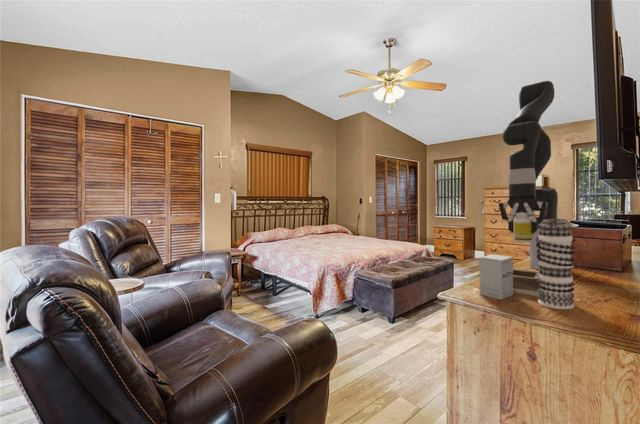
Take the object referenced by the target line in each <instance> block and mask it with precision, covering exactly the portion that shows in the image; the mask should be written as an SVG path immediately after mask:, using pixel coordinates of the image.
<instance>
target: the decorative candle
mask: <svg viewBox="0 0 640 424" xmlns="http://www.w3.org/2000/svg"><path fill="white" fill-rule="evenodd" d="M538 225H539V237H538V238H536V242H538V243H536V247H538V248H539V249H538V250H537V254H538V255H537V258H538V260H540V261H538V264H539V265H540V270H539V271H538V272H539V278H538V282H539V284H538V287H539V289H538V293H539V294H538V296H537V298H538V299H537V301H538V304H540V305H542V306H544V307H546V308H551V309H556V310H571V309H573V308H575V304H574V303H575V299H574V298H575V294H574V293H573V292H574V291H575V287H574V285H575V282H573V281H574V280H573V278H574V277H573V275H572V273H573V270H572V269H573V268H574V267H575V264H574V262H575V258H574V257H572V256H573V255H576V252H575V251H574V250H575V249H576V246H574V245H573V244H572V243H576V241H577V240H576V239H575V238H573V235H572V232H573V231H572V230H573V229H572V226H574V224H571V223H570V221H569V220H567V219H564V218H563V219H562V218H557V219H545V220H543V221H542V222H541V223H540V224H538Z"/></svg>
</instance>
